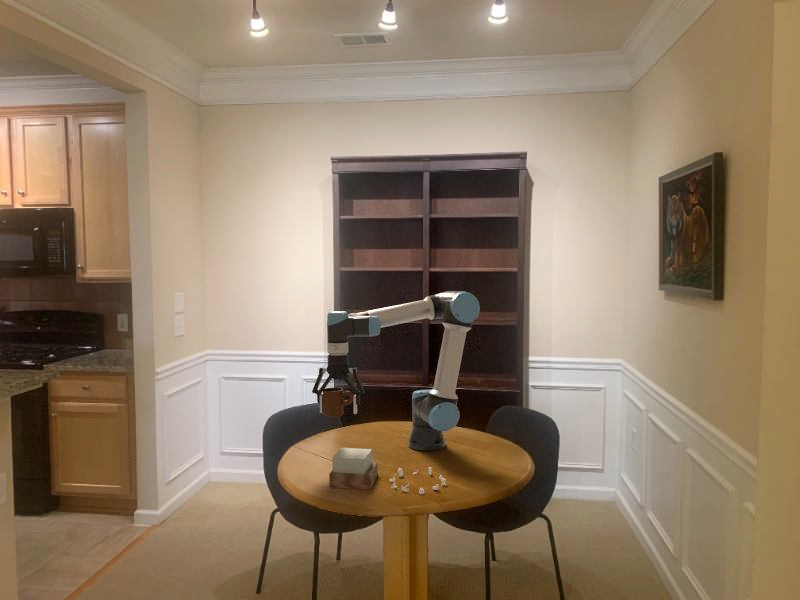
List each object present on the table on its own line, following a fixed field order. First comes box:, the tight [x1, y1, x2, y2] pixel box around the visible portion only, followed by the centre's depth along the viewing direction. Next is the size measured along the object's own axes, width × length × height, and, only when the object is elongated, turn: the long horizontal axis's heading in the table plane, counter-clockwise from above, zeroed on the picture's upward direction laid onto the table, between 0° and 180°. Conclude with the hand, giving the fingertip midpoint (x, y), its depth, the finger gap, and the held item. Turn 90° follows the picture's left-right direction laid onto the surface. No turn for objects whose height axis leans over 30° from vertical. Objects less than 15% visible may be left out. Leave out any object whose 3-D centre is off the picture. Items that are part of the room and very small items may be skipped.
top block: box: [331, 447, 373, 474], centre depth 199 cm, size 11×11×5 cm
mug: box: [322, 387, 355, 418], centre depth 212 cm, size 12×8×9 cm, turn 72°
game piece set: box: [388, 466, 447, 495], centre depth 197 cm, size 19×20×4 cm
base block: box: [328, 461, 378, 490], centre depth 200 cm, size 14×14×5 cm
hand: (338, 412), depth 212 cm, fingers closed on mug, 12 cm apart
